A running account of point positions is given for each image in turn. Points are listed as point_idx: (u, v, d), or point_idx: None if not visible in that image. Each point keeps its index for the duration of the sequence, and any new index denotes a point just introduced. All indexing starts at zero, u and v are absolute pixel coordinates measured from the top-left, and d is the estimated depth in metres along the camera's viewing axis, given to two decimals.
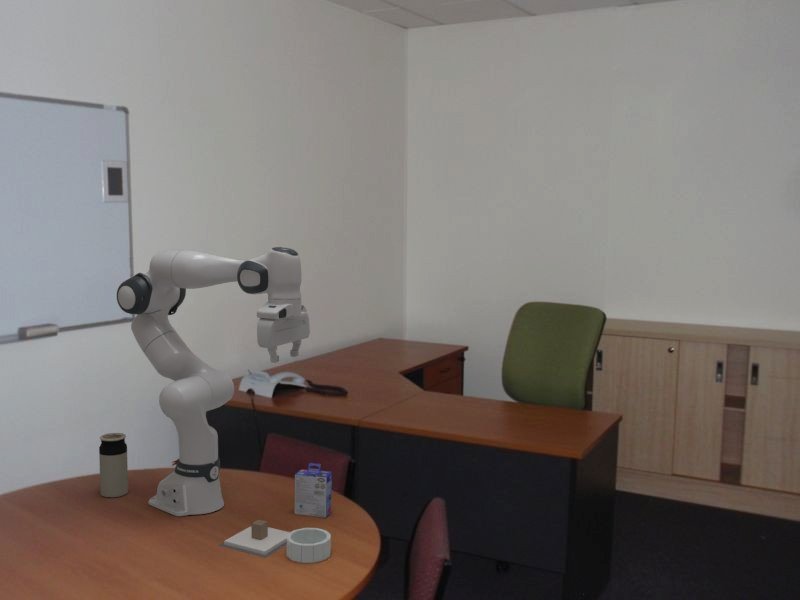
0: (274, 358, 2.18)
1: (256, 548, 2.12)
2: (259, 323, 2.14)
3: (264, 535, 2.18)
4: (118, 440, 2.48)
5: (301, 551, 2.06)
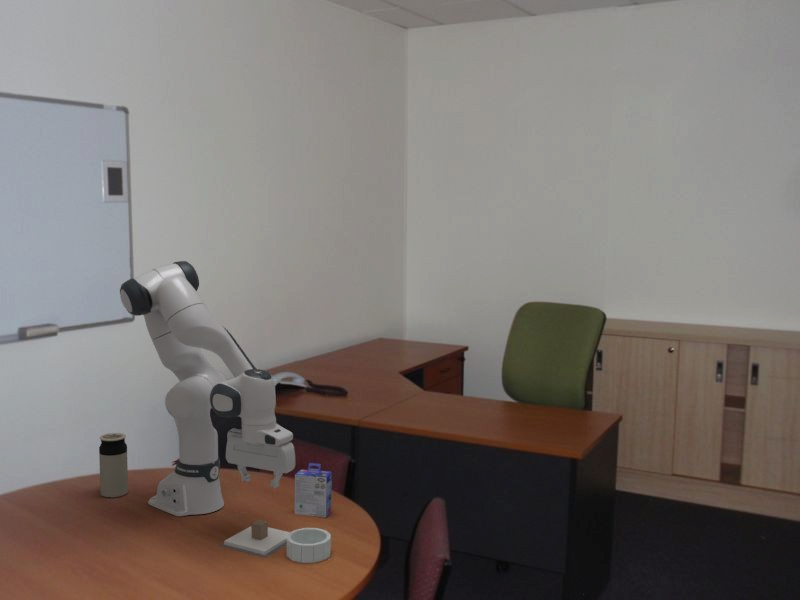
0: (278, 482, 2.14)
1: (256, 548, 2.12)
2: (284, 449, 2.10)
3: (264, 535, 2.18)
4: (118, 440, 2.48)
5: (301, 551, 2.06)
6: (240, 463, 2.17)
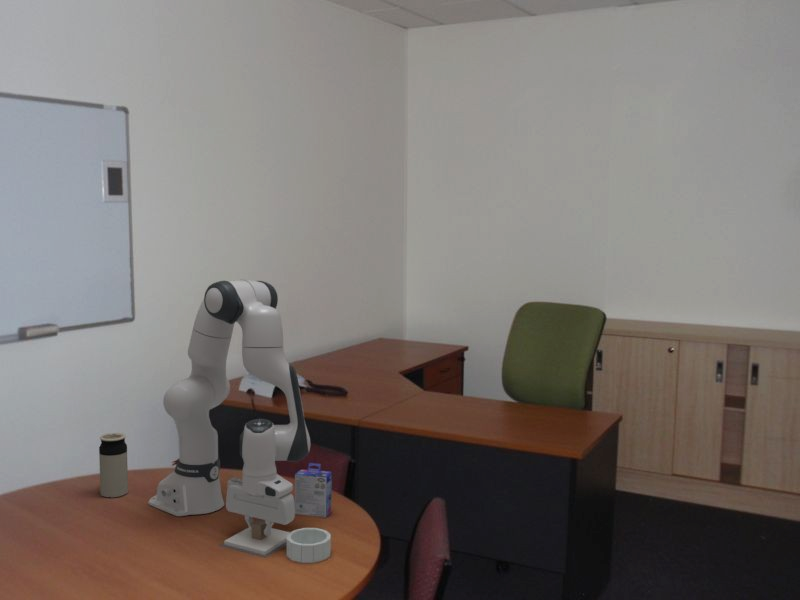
0: (269, 530, 2.17)
1: (256, 548, 2.12)
2: (284, 501, 2.11)
3: (264, 535, 2.18)
4: (118, 440, 2.48)
5: (301, 551, 2.06)
6: (240, 512, 2.18)
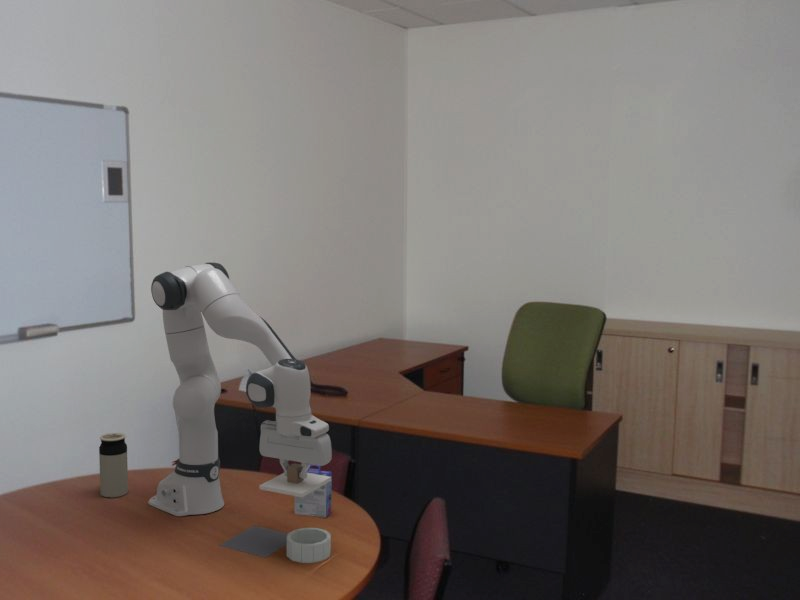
0: (306, 473, 2.09)
1: (293, 491, 2.03)
2: (321, 441, 2.03)
3: (300, 479, 2.10)
4: (118, 440, 2.48)
5: (301, 551, 2.06)
6: (274, 456, 2.10)
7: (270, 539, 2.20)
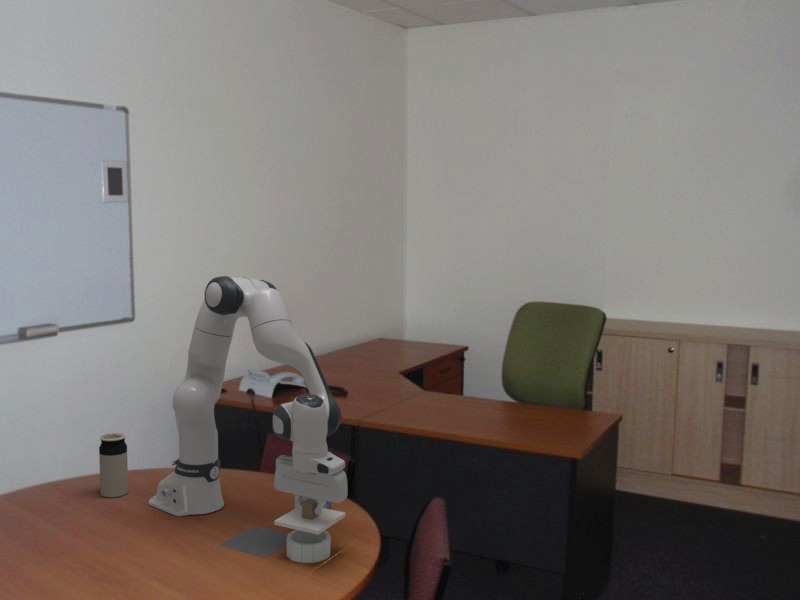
0: (320, 509, 2.09)
1: (308, 527, 2.04)
2: (338, 479, 2.03)
3: None
4: (118, 440, 2.48)
5: (301, 551, 2.06)
6: (289, 491, 2.10)
7: (270, 539, 2.20)
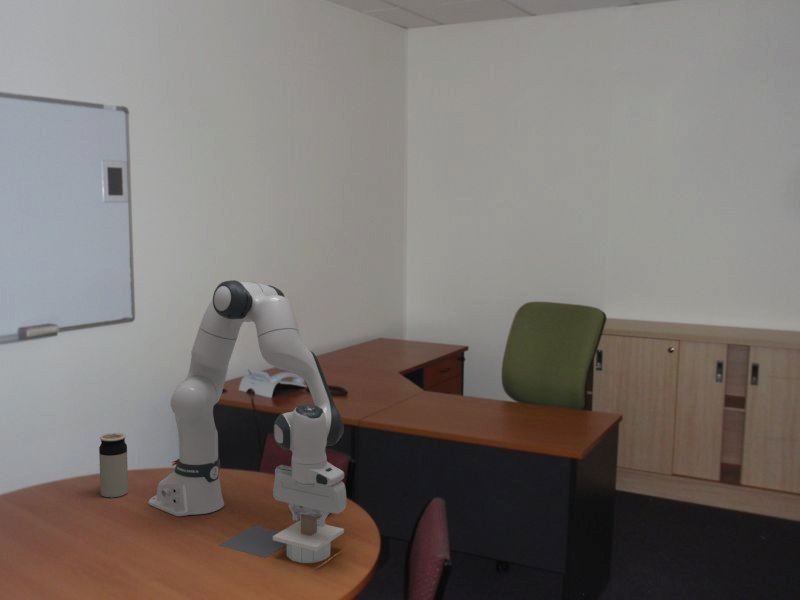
0: (324, 521, 2.09)
1: (307, 544, 2.04)
2: (336, 490, 2.04)
3: (314, 530, 2.10)
4: (118, 440, 2.48)
5: (301, 551, 2.06)
6: (288, 501, 2.11)
7: (270, 539, 2.20)
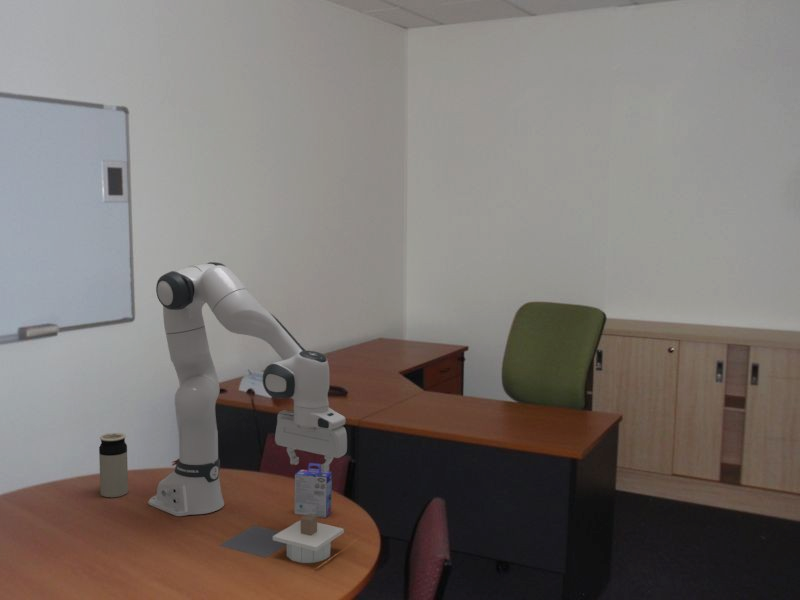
0: (328, 466, 2.11)
1: (307, 544, 2.04)
2: (337, 434, 2.06)
3: (314, 530, 2.10)
4: (118, 440, 2.48)
5: (301, 551, 2.06)
6: (290, 446, 2.13)
7: (270, 539, 2.20)
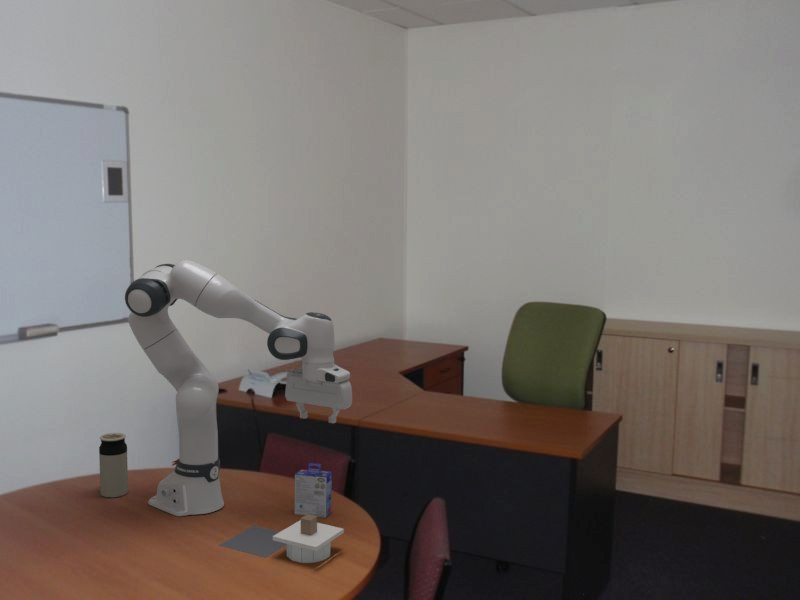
0: (335, 418, 2.28)
1: (307, 544, 2.04)
2: (343, 387, 2.23)
3: (314, 530, 2.10)
4: (118, 440, 2.48)
5: (301, 551, 2.06)
6: (299, 400, 2.30)
7: (270, 539, 2.20)
